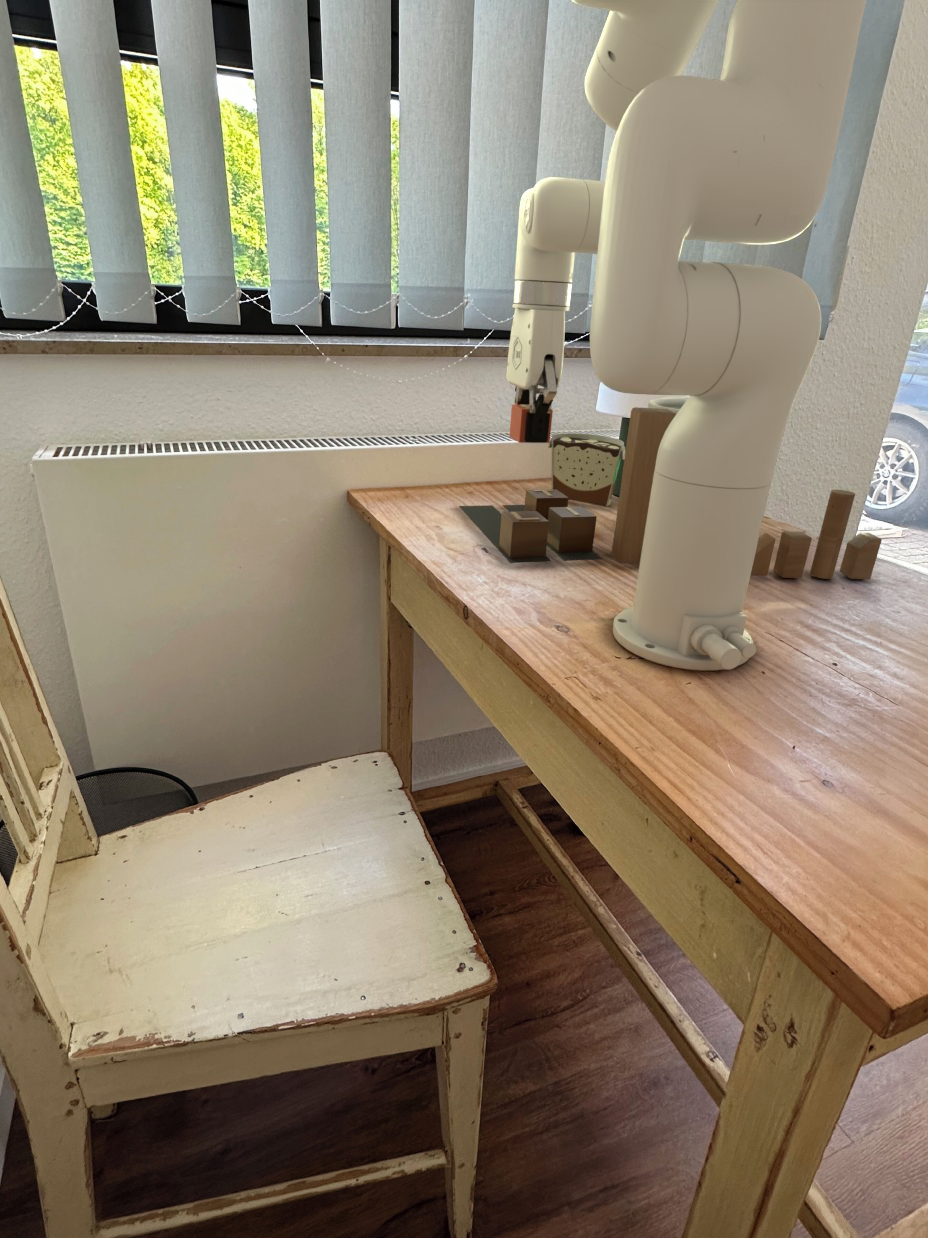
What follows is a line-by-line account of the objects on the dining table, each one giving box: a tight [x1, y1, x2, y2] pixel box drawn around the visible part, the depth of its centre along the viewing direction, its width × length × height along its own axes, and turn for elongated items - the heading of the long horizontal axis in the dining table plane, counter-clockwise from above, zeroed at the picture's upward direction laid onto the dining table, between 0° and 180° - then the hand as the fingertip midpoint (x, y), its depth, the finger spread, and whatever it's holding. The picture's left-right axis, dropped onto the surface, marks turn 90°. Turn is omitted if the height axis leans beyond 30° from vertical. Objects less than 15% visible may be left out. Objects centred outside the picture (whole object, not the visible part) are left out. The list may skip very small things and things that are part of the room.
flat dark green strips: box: [458, 504, 604, 564], centre depth 96 cm, size 25×12×1 cm, turn 14°
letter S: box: [509, 404, 554, 444], centre depth 101 cm, size 4×4×5 cm
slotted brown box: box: [547, 506, 598, 553], centre depth 89 cm, size 4×4×5 cm
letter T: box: [524, 488, 569, 520], centre depth 97 cm, size 4×4×5 cm
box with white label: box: [499, 511, 549, 559], centre depth 86 cm, size 4×4×5 cm
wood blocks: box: [750, 489, 883, 580], centre depth 83 cm, size 25×3×10 cm, turn 95°
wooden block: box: [611, 406, 676, 565], centre depth 84 cm, size 9×4×18 cm, turn 90°
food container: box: [547, 432, 626, 508], centre depth 112 cm, size 12×6×10 cm, turn 58°
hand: (529, 437), depth 101 cm, fingers closed on letter S, 4 cm apart
